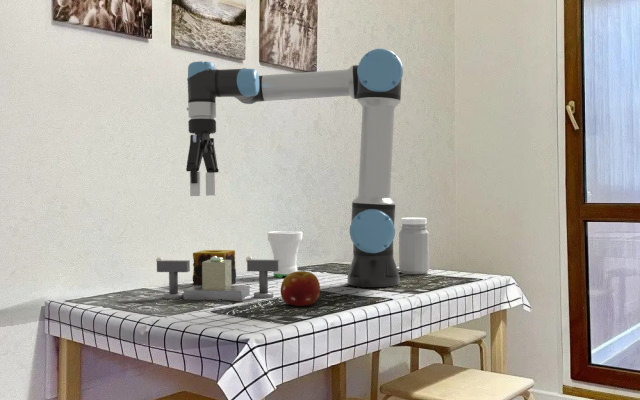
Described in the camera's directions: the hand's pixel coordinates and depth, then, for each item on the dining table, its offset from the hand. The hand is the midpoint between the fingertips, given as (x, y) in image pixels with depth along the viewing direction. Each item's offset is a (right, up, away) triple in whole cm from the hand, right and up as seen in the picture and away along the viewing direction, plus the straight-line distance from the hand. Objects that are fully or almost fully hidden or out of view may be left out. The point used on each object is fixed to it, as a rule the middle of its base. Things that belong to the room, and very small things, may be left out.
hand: (203, 195), depth 187 cm
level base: (+6, -26, -12) cm, 30 cm away
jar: (+63, -25, +35) cm, 76 cm away
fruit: (+28, -27, -25) cm, 46 cm away
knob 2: (+18, -26, -13) cm, 34 cm away
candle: (+2, -26, +10) cm, 28 cm away
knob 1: (-5, -26, -13) cm, 30 cm away
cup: (+21, -26, +28) cm, 44 cm away
